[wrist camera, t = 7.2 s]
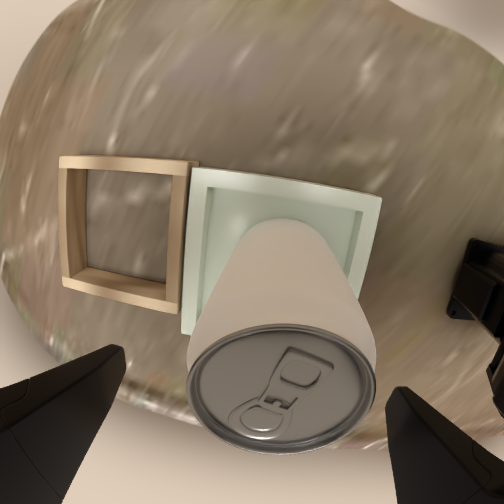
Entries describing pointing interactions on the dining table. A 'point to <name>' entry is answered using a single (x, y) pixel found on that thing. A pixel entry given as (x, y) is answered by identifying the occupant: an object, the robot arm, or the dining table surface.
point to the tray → (261, 209)
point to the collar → (75, 232)
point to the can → (281, 346)
